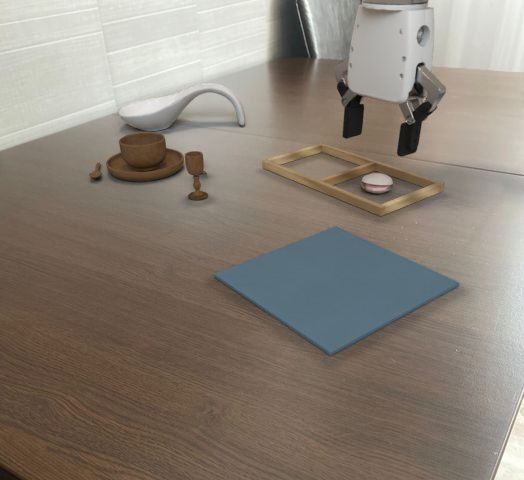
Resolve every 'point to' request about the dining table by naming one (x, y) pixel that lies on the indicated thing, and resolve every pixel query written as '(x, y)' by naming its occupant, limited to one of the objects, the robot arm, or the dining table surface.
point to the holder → (366, 167)
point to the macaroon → (377, 183)
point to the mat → (335, 287)
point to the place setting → (152, 161)
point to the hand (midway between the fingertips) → (378, 144)
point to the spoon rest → (173, 107)
